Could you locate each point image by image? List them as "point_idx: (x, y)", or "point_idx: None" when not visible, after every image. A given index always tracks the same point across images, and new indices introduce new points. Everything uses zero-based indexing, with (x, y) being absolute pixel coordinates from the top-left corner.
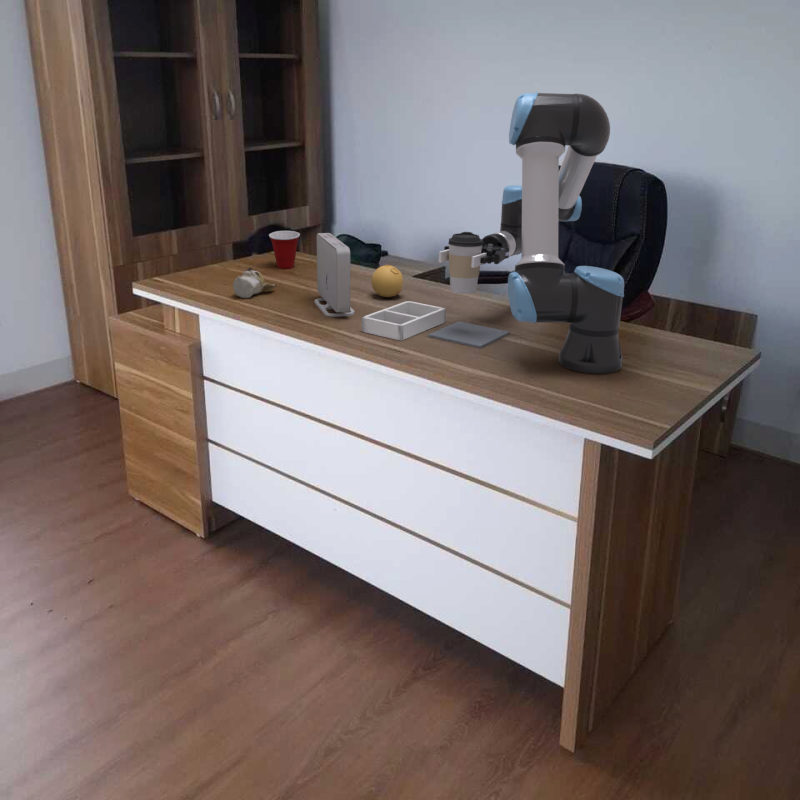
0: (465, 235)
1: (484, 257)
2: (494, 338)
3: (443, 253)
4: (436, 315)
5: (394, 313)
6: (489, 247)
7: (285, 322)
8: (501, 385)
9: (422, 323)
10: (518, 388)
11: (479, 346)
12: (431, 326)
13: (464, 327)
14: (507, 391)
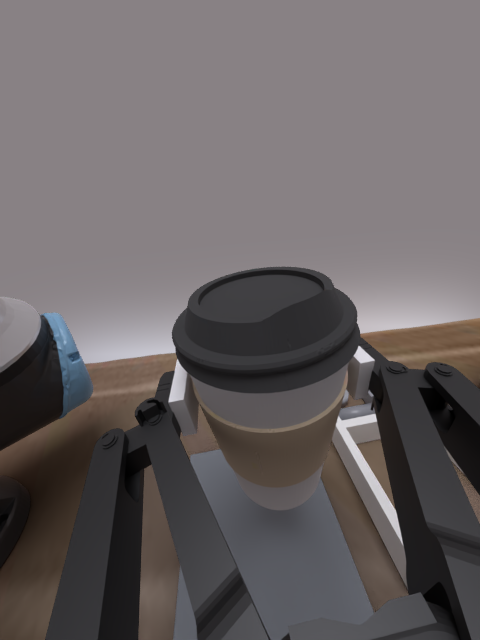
0: (288, 302)
1: (167, 382)
2: None
3: None
4: (374, 502)
5: None
6: (230, 604)
7: (460, 335)
8: (124, 378)
9: (337, 437)
10: (105, 383)
11: (193, 455)
12: (356, 486)
13: (303, 559)
14: (116, 372)
